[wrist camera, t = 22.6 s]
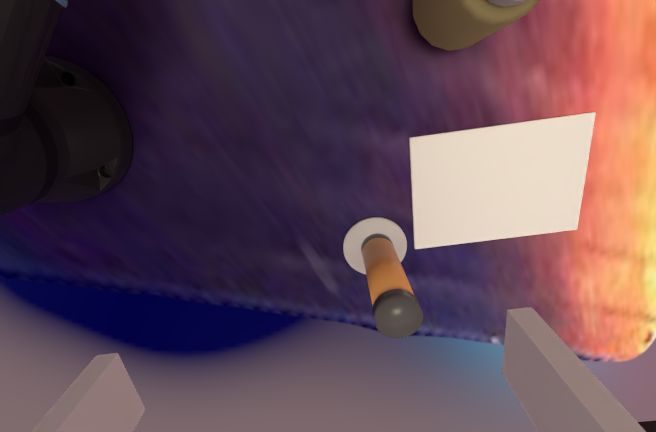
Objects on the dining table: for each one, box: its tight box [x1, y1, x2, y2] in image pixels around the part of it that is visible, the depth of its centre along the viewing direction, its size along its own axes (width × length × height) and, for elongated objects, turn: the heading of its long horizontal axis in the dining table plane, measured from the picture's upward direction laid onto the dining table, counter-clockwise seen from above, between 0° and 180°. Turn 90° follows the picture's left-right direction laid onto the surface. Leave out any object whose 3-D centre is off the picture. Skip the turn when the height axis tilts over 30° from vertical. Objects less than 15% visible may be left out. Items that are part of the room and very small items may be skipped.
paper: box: [409, 112, 596, 249], centre depth 38 cm, size 20×14×1 cm
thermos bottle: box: [361, 233, 423, 338], centre depth 35 cm, size 4×4×14 cm
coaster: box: [343, 217, 407, 274], centre depth 41 cm, size 8×8×1 cm
